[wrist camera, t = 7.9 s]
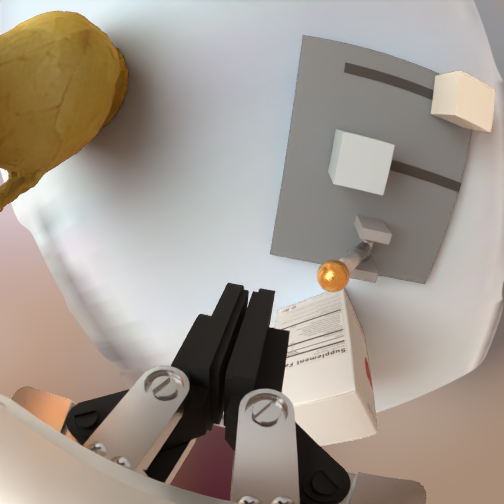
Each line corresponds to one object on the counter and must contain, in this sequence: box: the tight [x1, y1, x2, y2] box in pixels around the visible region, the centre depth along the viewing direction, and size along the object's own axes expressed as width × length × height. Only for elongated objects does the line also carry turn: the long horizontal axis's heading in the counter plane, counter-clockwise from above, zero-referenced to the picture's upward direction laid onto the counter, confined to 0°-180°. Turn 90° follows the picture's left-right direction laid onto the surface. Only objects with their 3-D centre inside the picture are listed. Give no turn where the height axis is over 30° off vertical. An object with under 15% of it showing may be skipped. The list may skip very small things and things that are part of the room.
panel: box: [270, 35, 472, 284], centre depth 23 cm, size 22×18×5 cm
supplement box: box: [274, 289, 377, 446], centre depth 28 cm, size 9×9×15 cm
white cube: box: [328, 129, 395, 195], centre depth 21 cm, size 4×4×5 cm
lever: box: [317, 239, 374, 292], centre depth 23 cm, size 2×2×9 cm
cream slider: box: [431, 70, 496, 133], centre depth 16 cm, size 4×4×5 cm
